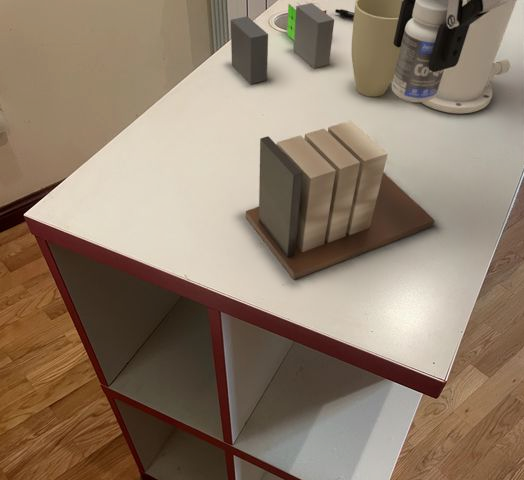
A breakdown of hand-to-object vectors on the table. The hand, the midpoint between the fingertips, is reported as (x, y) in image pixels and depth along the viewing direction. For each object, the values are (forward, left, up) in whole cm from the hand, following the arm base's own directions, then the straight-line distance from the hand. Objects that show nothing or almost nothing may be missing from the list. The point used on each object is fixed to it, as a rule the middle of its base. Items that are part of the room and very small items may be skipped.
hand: (424, 53), depth 51 cm
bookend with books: (+7, 0, -19) cm, 20 cm away
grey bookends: (-6, -38, -19) cm, 43 cm away
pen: (-29, -45, -19) cm, 56 cm away
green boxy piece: (-15, -45, -19) cm, 51 cm away
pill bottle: (0, 0, -4) cm, 4 cm away
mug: (-16, -24, -19) cm, 34 cm away
